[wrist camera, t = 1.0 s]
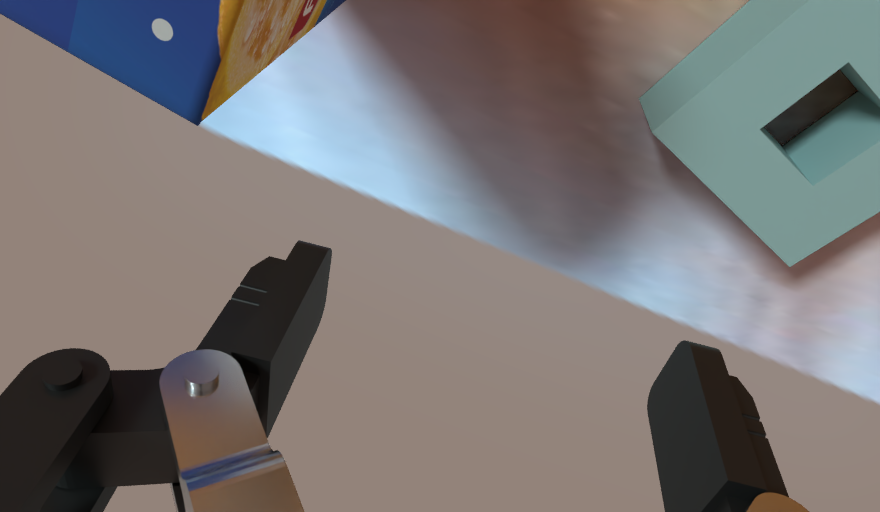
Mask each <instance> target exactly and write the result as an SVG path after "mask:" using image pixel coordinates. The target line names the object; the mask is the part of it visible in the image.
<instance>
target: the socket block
mask: <svg viewBox="0 0 880 512" xmlns="http://www.w3.org/2000/svg"><path fill="white" fill-rule="evenodd" d="M839 69H840V70H841V71H842V72H843V74H844V75H845V76H846V77H847V78H848V79H849V81H850V82H851V83H852V84H853V85H854V87H855V88H856V89H857V90H858V92H856V93H855V94H854V95H852V96H851V97H850V98H848V99H847V100H845V101H844V102H843V103H841V104H840V105H839V106H837V107H836V108H834V109H833V110H832V111H830V112H829V113H828V114H826V115H825V116H823V117H822V118H821V119H819V120H818V121H817V122H815V123H814V124H812V125H811V126H810V127H808V128H807V129H806V130H804V131H803V132H801V133H800V134H799V135H797V136H796V137H795V138H793V139H792V140H790V141H789V142H788V143H786V144H785V145H784V146H781V145H780V144H779V143H778V142H777V141H776V140H775V139H774V138H773V137H772V135H771V134H770V133H769V132H768V131H767V130H766V129H765V128H764V126H765V125H766V124H768V123H769V122H770V121H772V120H773V119H774V118H776V117H777V116H778V115H779V114H781V113H782V112H783V111H785V110H786V109H787V108H789V107H790V106H791V105H793V104H794V103H795V102H797V101H798V100H799V99H801V98H802V97H803V96H804V95H806V94H807V93H808V92H810V91H811V90H812V89H814V88H815V87H816V86H818V85H819V84H820V83H822V82H823V81H824V80H826V79H827V78H828V77H830V76H831V75H832V74H833V73H835V72H836V71H837V70H839ZM639 100H640V103H641V105H642V108H643V111H644V113H645V116H646V118H647V121H648V124H649V126H650V129H651V132H652V133H653V134H654V135H655V136H656V137H657V138H658V139H659V140H660V141H661V142H662V143H663V144H664V145H665V146H666V147H667V148H668V149H669V150H670V151H671V152H672V153H673V154H674V155H675V156H677V157H678V158H679V159H680V160H681V161H682V162H683V163H684V164H685V165H686V166H687V167H688V168H689V169H690V170H691V171H692V172H693V173H694V174H695V175H696V176H697V177H698V178H699V179H700V180H701V181H702V182H703V183H704V184H705V185H706V186H707V187H708V188H709V189H710V190H711V191H712V192H713V193H714V194H715V195H716V196H717V197H718V198H719V199H720V200H721V201H722V202H724V203H725V204H726V205H727V206H728V207H729V208H730V209H731V210H732V211H733V212H734V213H735V214H736V215H737V216H738V217H739V218H740V219H741V220H742V221H743V222H744V223H745V224H746V225H747V226H748V227H749V228H750V229H751V230H752V231H753V232H754V233H755V234H756V235H757V236H758V237H759V238H760V239H761V240H762V241H763V242H764V243H765V244H766V245H767V246H768V247H769V248H771V249H772V250H773V251H774V252H775V253H776V254H777V255H778V256H779V257H780V258H781V259H782V260H783V261H784V262H785V263H786V264H787V265H788V266H789V267H791V266H792V265H794V264H796V263H797V262H799V261H800V260H802V259H804V258H805V257H807V256H809V255H810V254H812V253H813V252H815V251H817V250H818V249H820V248H822V247H823V246H825V245H826V244H828V243H830V242H831V241H833V240H835V239H836V238H838V237H839V236H841V235H843V234H844V233H846V232H848V231H849V230H851V229H852V228H854V227H856V226H857V225H859V224H861V223H862V222H864V221H865V220H867V219H869V218H870V217H872V216H873V215H875V214H877V213H878V212H880V0H750V1H749V2H747V3H746V4H745V5H744V6H743V7H742V8H741V9H740V10H738V11H737V12H736V13H735V14H734V15H733V16H732V17H730V18H729V19H728V20H727V21H726V22H725V23H724V24H723V25H721V26H720V27H719V28H718V29H717V30H716V31H715V32H714V33H712V34H711V35H710V36H709V37H708V38H707V39H706V40H705V41H703V42H702V43H701V44H700V45H699V46H698V47H697V48H695V49H694V50H693V51H692V52H691V53H690V54H689V55H688V56H686V57H685V58H684V59H683V60H682V61H681V62H680V63H679V64H677V65H676V66H675V67H674V68H673V69H672V70H671V71H670V72H668V73H667V74H666V75H665V76H664V77H663V78H662V79H660V80H659V81H658V82H657V83H656V84H655V85H654V86H653V87H651V88H650V89H649V90H648V91H647V92H646V93H645V94H644V95H642V96H641V97H640V98H639Z"/></svg>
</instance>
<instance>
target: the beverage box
mask: <svg viewBox="0 0 880 512" xmlns="http://www.w3.org/2000/svg"><path fill="white" fill-rule="evenodd" d="M344 1H346V0H0V14H2V15H4V16H5V17H7V18H9V19H11V20H12V21H14V22H16V23H18V24H19V25H21V26H23V27H25V28H26V29H28V30H30V31H32V32H34V33H35V34H37V35H39V36H41V37H42V38H44V39H46V40H48V41H49V42H51V43H53V44H55V45H56V46H58V47H60V48H62V49H63V50H65V51H67V52H69V53H70V54H72V55H74V56H76V57H77V58H80V59H81V60H83V61H84V62H86V63H88V64H90V65H92V66H93V67H95V68H97V69H99V70H100V71H102V72H104V73H106V74H107V75H109V76H111V77H113V78H114V79H116V80H118V81H120V82H122V83H123V84H125V85H127V86H128V87H130V88H132V89H134V90H136V91H137V92H139V93H141V94H143V95H144V96H146V97H148V98H150V99H151V100H153V101H155V102H157V103H158V104H160V105H162V106H164V107H166V108H167V109H169V110H171V111H172V112H174V113H176V114H178V115H180V116H181V117H183V118H185V119H187V120H188V121H190V122H192V123H194V124H195V125H197V126H198V125H199V124H200V122H201V121H203V120H204V119H205V118H206V117H207V116H208V115H210V114H211V113H212V112H213V111H214V110H216V109H217V108H218V107H219V106H220V105H222V104H223V103H224V102H225V101H226V100H228V99H229V98H230V97H231V96H232V95H234V94H235V93H236V92H237V91H238V90H239V89H241V88H242V87H243V86H244V85H245V84H247V83H248V82H249V81H250V80H251V79H253V78H254V77H255V76H256V75H257V74H259V73H260V72H261V71H262V70H263V69H265V68H266V67H267V66H268V65H269V64H270V63H272V62H273V61H274V60H275V59H276V58H278V57H279V56H280V55H281V54H282V53H284V52H285V51H286V50H287V49H288V48H290V47H291V46H292V45H293V44H294V43H296V42H297V41H298V40H299V39H300V38H301V37H303V36H304V35H305V34H306V33H307V32H309V31H310V30H311V29H312V28H313V27H315V26H316V25H317V24H318V23H319V22H321V21H322V20H323V19H324V18H325V17H327V16H328V15H329V14H330V13H331V12H332V11H334V10H335V9H336V8H337V7H338V6H340V5H341V4H342V3H343V2H344Z"/></svg>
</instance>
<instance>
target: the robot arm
mask: <svg viewBox="0 0 880 512" xmlns="http://www.w3.org/2000/svg"><path fill="white" fill-rule="evenodd" d="M331 256H332V250H331V248H327V247H323V246H319V245H315V244H311V243H307V242H303V241H298V242H297V243H296V244H295V246H294V248H293V249H292V251H291V253H290V254H289V256H288V258H287V259H286V260H282V259H278V258H274V257H270V256H269V257H268V258H266V259H265V260H263V261H261V262H260V263H258V264H256V265H255V266H253V267H251V269H250V270H249V272H248V273H247V274H246V276H245V277H244V279H243V281H242V282H241V283H240V287H238V288H237V289H236V291H235V292H234V294H233V295H232V298H231V300H229V302H228V303H227V304H226V306H225V307H224V309H223V311H222V312H221V313H220V315H219V316H218V318H217V319H216V321H215V323H214V324H213V325H212V327H211V328H210V330H209V331H208V333H207V335H206V336H205V337H204V339H203V340H202V342H201V343H200V345H199V346H198V347H197V349H196V350H195V351H190V352H187V353H184V354H182V355H180V356H178V357H176V358H175V359H173V360H172V361H171V362H170V363H169V364H168V365H167V366H166V367H165V368H161V369H154V370H118V371H117V370H113V371H112V370H111V371H110V368H109V365H108V363H107V361H106V360H105V359H104V358H103V357H102V356H100V355H99V354H97V353H95V352H93V351H90V350H85V349H76V348H73V349H72V348H71V349H62V350H57V351H54V352H51V353H47V354H45V355H43V356H41V357H39V358H37V359H36V360H33V361H32V362H31V363H29V364H28V365H27V366H26V367H25V368H24V369H23V370H22V371H21V372H20V374H18V376H17V377H16V378H15V379H14V380H13V381H12V383H11V384H10V385H9V386H8V387H7V388H6V390H5V391H4V392H3V393H2V394H1V395H0V512H103V511H104V509H105V507H106V506H107V504H108V502H109V500H110V498H111V497H112V495H113V493H114V492H115V490H116V488H117V486H131V485H147V484H163V483H170V486H171V490H172V495H173V499H174V504H175V508H176V512H304V509H303V507H302V504H301V501H300V499H299V496H298V493H297V491H296V488H295V486H294V483H293V481H292V478H291V475H290V473H289V470H288V467H287V465H286V463H285V460H284V458H283V456H282V454H281V453H280V452H279V451H272V449H271V447H270V445H269V443H268V440H267V438H268V436H269V434H270V432H271V429H272V427H273V425H274V423H275V421H276V418H277V416H278V414H279V412H280V410H281V407H282V405H283V403H284V401H285V399H286V396H287V394H288V392H289V390H290V388H291V385H292V383H293V381H294V379H295V377H296V374H297V372H298V370H299V368H300V366H301V363H302V361H303V359H304V357H305V355H306V352H307V350H308V348H309V345H310V344H311V341H312V339H313V337H314V335H315V333H316V331H317V328H318V326H319V323H320V321H321V318H322V314H323V311H324V307H325V302H326V295H327V287H328V279H329V272H330V264H331ZM647 410H648V417H649V423H650V428H651V434H652V439H653V445H654V451H655V457H656V462H657V468H658V474H659V480H660V485H661V491H662V496H663V502H664V508H665V512H809V511H808V510H807V509H805V508H804V507H803V506H802V505H800V504H799V503H797V502H796V501H794V500H792V499H791V498H789V496H788V493H787V490H786V488H785V485H784V482H783V480H782V477H781V474H780V471H779V469H778V466H777V463H776V460H775V458H774V455H773V452H772V449H771V447H770V444H769V441H768V439H767V438H765V436H766V433H765V431H764V427H763V425H762V422H760V421H759V419H760V417H759V414H758V411H757V408H756V406H755V403H754V400H753V398H752V396H751V395H750V394H749V392H748V391H747V390H746V388H745V387H744V386H743V385H742V383H741V382H740V381H739V379H738V378H737V377H734V376H729V374H728V371H727V368H726V365H725V363H724V360H723V357H722V354H721V352H720V351H719V350H718V349H716V348H712V347H708V346H705V345H701V344H697V343H693V342H689V341H681V342H680V343H679V344H678V345H677V347H676V348H675V350H674V352H673V353H672V355H671V356H670V358H669V360H668V361H667V363H666V364H665V366H664V367H663V369H662V371H661V372H660V374H659V376H658V377H657V379H656V380H655V382H654V384H653V386H652V388H651V390H650V393H649V397H648V405H647Z"/></svg>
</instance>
